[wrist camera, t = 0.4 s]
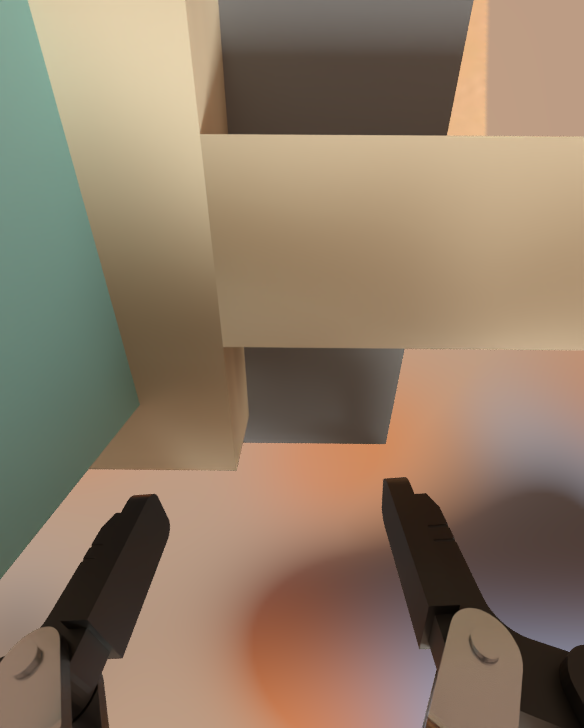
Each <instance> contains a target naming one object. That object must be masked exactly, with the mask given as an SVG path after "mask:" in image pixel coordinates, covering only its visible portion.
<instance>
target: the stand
mask: <svg viewBox="0 0 584 728" xmlns="http://www.w3.org/2000/svg"><path fill="white" fill-rule="evenodd" d="M218 5H219V19H220V32H221V46H222V59H223V72H224V86H225V99H226V113H227V126H228V134H260V135H417V136H447V132H448V126H449V121H450V116H451V111H452V106H453V101H454V96H455V91H456V86H457V81H458V76H459V71H460V66H461V61H462V56H463V51H464V46H465V41H466V36H467V31H468V26H469V21H470V15H471V10H472V5H473V0H218ZM403 353H404V349H394V348H284V347H244V355H245V368H246V382H247V395H248V409H249V418H248V422H247V427H246V431H245V436H244V440H243V443H244V442H245V443H340V444H341V443H342V444H347V443H348V444H386V439H387V434H388V428H389V424H390V419H391V414H392V409H393V404H394V399H395V394H396V389H397V384H398V379H399V373H400V368H401V364H402V359H403Z"/></svg>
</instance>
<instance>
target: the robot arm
mask: <svg viewBox="0 0 584 728" xmlns="http://www.w3.org/2000/svg"><path fill="white" fill-rule="evenodd" d="M382 514H383V521H384V525H385V529H386V532H387V536H388V539H389V543H390V547H391V550H392V554H393V557H394V561H395V564H396V568H397V571H398V575H399V578H400V582H401V586H402V589H403V593H404V596H405V599H406V603H407V607H408V610H409V614H410V617H411V621H412V625H413V628H414V632H415V635H416V639H417V642H418V646H419V649H431V652H432V655H433V659H434V662H435V665H436V668H437V670H436V674H435V678H434V683H433V686H432V690H431V694H430V698H429V702H428V706H427V710H426V714H425V718H424V722H423V726H422V728H584V645H580V646H576V647H575V648H573V649H572V650H571V651H570V652H568V651H565V650H562V649H559V648H556V647H553V646H550V645H547V644H544V643H541V642H538V641H535V640H532V639H529V638H526V637H524V636H522V635H520V634H518V633H516V632H515V631H513V630H512V629H510V628H509V627H507V626H506V625H505V624H504V623H502V622H501V621H500V620H499V619H498V618H497V617H496V616H495V614H494V613H493V612H492V611H491V610H490V608H489V607H488V605H487V604H486V602H485V600H484V598H483V597H482V594H481V593H480V590H479V588H478V586H477V584H476V582H475V580H474V578H473V576H472V574H471V572H470V569H469V567H468V565H467V563H466V561H465V559H464V557H463V555H462V553H461V551H460V549H459V547H458V545H457V543H456V542H455V539H454V537H453V534H452V532H451V530H450V528H449V527H448V524H447V522H446V520H445V518H444V516H443V514H442V511H441V510H440V507H439V506H438V505H437V504H436V503H435V502H434V501H433V500H432V499H431V498H430V497H429V496H428V495H427V494H426V493H425V494H414V492H413V489H412V487H411V485H410V482H409V480H408V479H407V478H406V477H401V478H387V479H384V480H383V495H382ZM169 531H170V523H169V519H168V517H167V515H166V513H165V511H164V509H163V507H162V504H161V502H160V500H159V498H158V496H157V495H156V494H146V495H134V496H132V497H130V499H129V500H128V501H127V503H126V505H125V507H124V508H123V510H122V512H121V513H116V514H114V516H113V517H112V518H111V519H110V520H109V521H108V522H107V523H106V524H105V525H104V526H103V527H102V528H101V530H100V531H99V533H98V535H97V536H96V538H95V540H94V541H93V543H92V547H91V548H89V550H88V551H87V553H86V555H85V556H84V558H83V562H81V563H80V565H79V566H78V568H77V570H76V571H75V573H74V575H73V576H72V578H71V580H70V581H69V583H68V585H67V586H66V588H65V590H64V591H63V593H62V595H61V596H60V598H59V600H58V601H57V603H56V605H55V607H54V608H53V610H52V611H51V613H50V615H49V616H48V618H47V619H46V621H45V622H44V624H43V625H42V626H41V627H40V628H39V629H37V630H35V631H33V632H31V633H29V634H28V635H26V636H25V637H23V638H22V639H21V640H20V641H19V642H17V643H16V644H15V645H14V646H13V647H12V649H11V650H10V651H9V652H8V653H7V654H6V656H4V657H2V658H0V728H109V722H108V714H107V706H106V696H105V687H104V680H103V675H102V671H103V668H104V666H105V664H106V661H107V659H119V658H123V655H124V653H125V650H126V648H127V645H128V642H129V640H130V637H131V635H132V632H133V629H134V627H135V624H136V621H137V619H138V616H139V614H140V611H141V608H142V605H143V603H144V600H145V598H146V595H147V592H148V590H149V587H150V585H151V582H152V579H153V577H154V574H155V571H156V569H157V566H158V563H159V561H160V558H161V556H162V553H163V550H164V548H165V545H166V543H167V540H168V536H169Z"/></svg>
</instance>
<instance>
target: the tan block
mask: <svg viewBox="0 0 584 728" xmlns="http://www.w3.org/2000/svg"><path fill="white" fill-rule="evenodd" d="M28 3H29V7H30V11H31V14H32V18H33V21H34V25H35V29H36V32H37V36H38V39H39V43H40V47H41V50H42V54H43V57H44V61H45V65H46V68H47V72H48V75H49V79H50V83H51V86H52V90H53V93H54V97H55V101H56V104H57V108H58V112H59V115H60V119H61V122H62V126H63V130H64V133H65V137H66V140H67V144H68V148H69V151H70V155H71V158H72V162H73V166H74V169H75V173H76V176H77V180H78V184H79V187H80V191H81V194H82V198H83V202H84V205H85V209H86V212H87V216H88V220H89V223H90V227H91V230H92V234H93V238H94V241H95V245H96V248H97V252H98V256H99V259H100V263H101V266H102V270H103V274H104V277H105V281H106V284H107V288H108V292H109V295H110V299H111V302H112V306H113V310H114V313H115V317H116V320H117V324H118V328H119V331H120V335H121V338H122V342H123V346H124V349H125V353H126V356H127V360H128V364H129V367H130V371H131V374H132V378H133V382H134V385H135V389H136V392H137V396H138V400H139V403H140V405H139V407H138V408H137V409H136V410H135V412H134V413H133V414H132V415H131V417H130V418H129V419H128V420H127V422H126V423H125V424H124V425H123V427H122V428H121V429H120V430H119V432H118V433H117V434H116V435H115V437H114V438H113V439H112V440H111V442H110V443H109V444H108V445H107V447H106V448H105V449H104V450H103V452H102V453H101V454H100V455H99V457H98V458H97V459H96V460H95V462H94V463H93V464H92V465H91V467H90V468H89V469H134V470H139V469H140V470H226V471H229V470H230V471H236V470H237V467H238V462H239V458H240V453H241V449H242V444H243V440H244V436H245V431H246V427H247V422H248V418H249V409H248V395H247V382H246V368H245V355H244V347H284V348H394V349H504V350H505V349H506V350H509V349H510V350H513V349H514V350H584V137H574V136H572V137H570V136H566V137H564V136H563V137H562V136H559V137H558V136H417V135H260V134H228V126H227V113H226V99H225V86H224V72H223V59H222V46H221V32H220V19H219V5H218V0H28Z"/></svg>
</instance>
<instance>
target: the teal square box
mask: <svg viewBox="0 0 584 728" xmlns="http://www.w3.org/2000/svg"><path fill="white" fill-rule="evenodd" d="M139 405H140V403H139V400H138V396H137V392H136V389H135V385H134V382H133V378H132V374H131V371H130V367H129V364H128V360H127V356H126V353H125V349H124V346H123V342H122V338H121V335H120V331H119V328H118V324H117V320H116V317H115V313H114V310H113V306H112V302H111V299H110V295H109V292H108V288H107V284H106V281H105V277H104V274H103V270H102V266H101V263H100V259H99V256H98V252H97V248H96V245H95V241H94V238H93V234H92V230H91V227H90V223H89V220H88V216H87V212H86V209H85V205H84V202H83V198H82V194H81V191H80V187H79V184H78V180H77V176H76V173H75V169H74V166H73V162H72V158H71V155H70V151H69V148H68V144H67V140H66V137H65V133H64V130H63V126H62V122H61V119H60V115H59V112H58V108H57V104H56V101H55V97H54V93H53V90H52V86H51V83H50V79H49V75H48V72H47V68H46V65H45V61H44V57H43V54H42V50H41V47H40V43H39V39H38V36H37V32H36V29H35V25H34V21H33V18H32V14H31V11H30V7H29V3H28V0H0V579H1V578H2V577H3V575H4V574H5V573H6V572H7V570H8V569H9V568H10V567H11V565H12V564H13V563H14V562H15V560H16V559H17V558H18V557H19V555H20V554H21V553H22V552H23V550H24V549H25V548H26V547H27V545H28V544H29V543H30V542H31V540H32V539H33V538H34V536H35V535H36V534H37V533H38V531H39V530H40V529H41V528H42V527H43V525H44V524H45V523H46V521H47V520H48V519H49V518H50V517H51V515H52V514H53V513H54V511H55V510H56V509H57V508H58V507H59V505H60V504H61V503H62V501H63V500H64V499H65V498H66V497H67V495H68V494H69V493H70V492H71V490H72V489H73V487H75V485H76V484H77V483H78V482H79V480H80V479H81V478H82V477H83V475H84V474H85V473H86V472H87V470H88V469H89V468H90V467H91V465H92V464H93V463H94V462H95V460H96V459H97V458H98V457H99V455H100V454H101V453H102V452H103V450H104V449H105V448H106V447H107V445H108V444H109V443H110V442H111V440H112V439H113V438H114V437H115V435H116V434H117V433H118V432H119V430H120V429H121V428H122V427H123V425H124V424H125V423H126V422H127V420H128V419H129V418H130V417H131V415H132V414H133V413H134V412H135V410H136V409H137V408H138V407H139Z"/></svg>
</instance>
